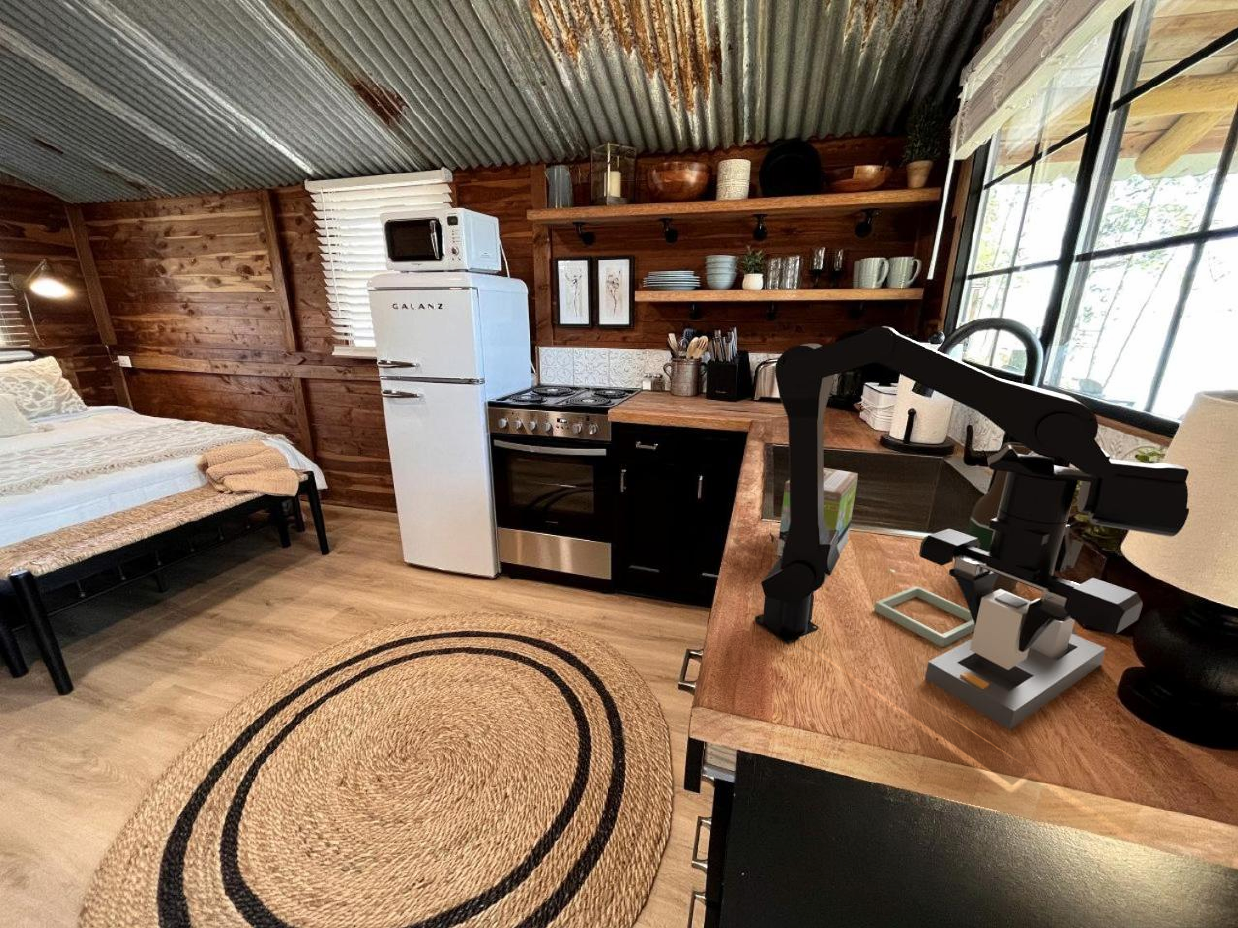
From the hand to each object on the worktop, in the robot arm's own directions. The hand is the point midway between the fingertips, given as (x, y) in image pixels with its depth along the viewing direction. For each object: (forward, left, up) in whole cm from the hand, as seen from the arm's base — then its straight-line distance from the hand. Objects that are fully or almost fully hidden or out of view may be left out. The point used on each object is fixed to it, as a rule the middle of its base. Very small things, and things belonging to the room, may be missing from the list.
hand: (1001, 639), depth 57 cm
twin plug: (+11, 0, -6) cm, 13 cm away
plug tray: (+8, +12, -7) cm, 16 cm away
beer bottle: (+28, +14, -7) cm, 32 cm away
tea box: (+13, +37, -7) cm, 40 cm away
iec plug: (0, 0, -2) cm, 2 cm away
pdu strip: (+7, 0, -7) cm, 10 cm away
